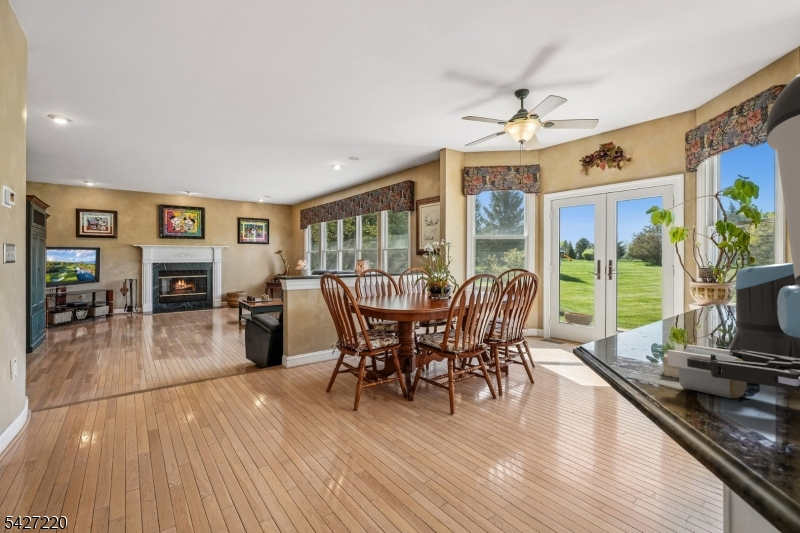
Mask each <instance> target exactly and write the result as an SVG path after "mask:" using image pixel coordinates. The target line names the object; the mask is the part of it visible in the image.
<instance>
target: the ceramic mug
mask: <svg viewBox="0 0 800 533" xmlns="http://www.w3.org/2000/svg"><path fill="white" fill-rule="evenodd" d="M682 352H687V353H694V354H700V355H707V356H711V354H715V355H716V358H717V359H725V360H735V361H743V360H742V359H740V358H737V357H734V356H731V355H726V354H721V353H716V352H712V351H706V350H702V349H697V348H693V347H687V346H686V348H684V350H683V351H682ZM721 371H722V369H721ZM678 372H679V373H678V374H679V378H678V380H679V383H680V386H681V387H683V388H684V389H685V390H690V391H697V392H699V393H703V394H709V395H713V396H718V397H722V398H729V399H739V398H741V397H742V396H743V395H744V394H745V391H746V389H747V385H748V382H742V381H736V380H730V379H724V378H715V377H712V374H711V373H709V372H703V371H698V370H692V369H687V368H681V367H679V370H678Z"/></svg>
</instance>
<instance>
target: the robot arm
mask: <svg viewBox="0 0 800 533" xmlns="http://www.w3.org/2000/svg"><path fill="white" fill-rule="evenodd" d="M766 119H767V120H766V125H765V126H766V127H765V133H766V141H767V144H768V146H769V148H771V149H773V150H775V151H776V152H777V161H778V168H779V174H780V182H781V188H782V196H783V204H784V211H785V212H784V213H785V215H786V216H785V217H786V218H785V219H786V225H787V231H788V232H787V234H788V239H789V247H790V255H791V260H792V262H785V263H775V264H774V263H773V264H767V265H766V264H765V265H756V266H747V267H743V268H741V269H739V270H738V271H737V272H736V275H735V286H734V290H735V325H736V326H735V328H736V329H735V333H734V334H733V338H732V341H731V342H730V345H729V347H728V349H724V348H723V349H722V348H715V347H709V346H707V347H706V346H701V345H693V344H686V348H687V347H693V348H697V349H702V350H706V351H712V352H716V353H721V354H726V355H731V356H734V357H737V358H740V359H742V360H743V361H735V360H725V359H717V358H716V355H715V354H711V356H707V355H700V354H694V353H687V352H683V351H680V350H673V349H667V354H668V365H670V366H676V367H681V368H687V369H692V370H698V371H703V372H709V373H711V374H712V377H715V378H724V379H730V380H736V381H742V382H747V384H748V383H749V384H756V385H762V386H768V387H775V388H779V389H783V390H788V391H790V392H800V72H799V73H798V74H797V75H796V76H794V77H793V78H792V79H791V80H790V81H789V83H788V84H786V86H785V87H784V88H783V89H782V90H781V92H780V93H779V95H778V96H777V97H776V99H775V100H774V103H773V105H772V107H771V108H770V110H769V113H768V116H767V118H766ZM721 369H722V371H721Z"/></svg>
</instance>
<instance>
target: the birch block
mask: <svg viewBox="0 0 800 533" xmlns="http://www.w3.org/2000/svg"><path fill="white" fill-rule="evenodd" d="M678 370H679V367H676V366H670V365H668V353H664V354H663V376H664V375H665V376H664V377H670V376H672V377H671V378H677V377H679V374H678V373H679V372H678Z"/></svg>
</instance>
